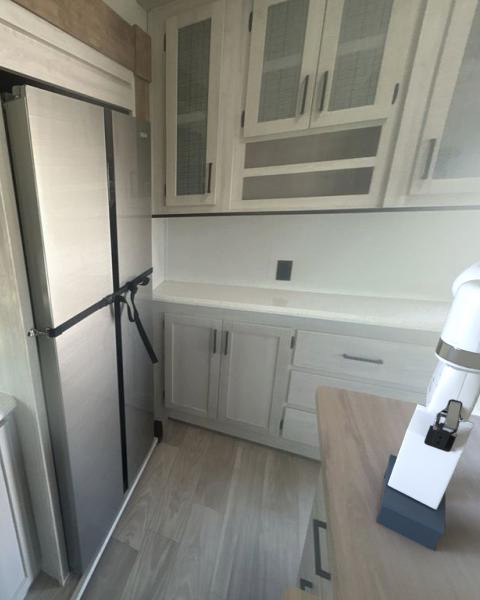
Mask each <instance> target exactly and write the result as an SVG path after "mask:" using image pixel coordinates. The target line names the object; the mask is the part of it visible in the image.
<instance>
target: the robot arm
mask: <svg viewBox="0 0 480 600" xmlns="http://www.w3.org/2000/svg"><path fill="white" fill-rule="evenodd" d="M451 293H452V297H453V299H452V303H451V306H450V308H449V311H448V314H447V317H446V319H445V321H444V322H445V323H444V325H443V328H442V330H441V333H440V336H439V338H438V341H437V344H436V346H435V347H436V348H435V351H434V356H435V357H436V358H437V359H438V362H437V363H436V366H435V369H434V371H433V374H432V376H431V379H430V381H429V383H428V385H427V389H426V395H425V396H426V397H425V406H426V410H427V411H428V412H429V413H433V414H436V416H435V420H434V423H433V426H431V425H430V427H429V430H428V433H427V435H426V438H425V440H424V443H425V444H426V445H429V446H431V447H434V448H437V449H440V450H443V451H446V452H450V450H451V448H452V446H453V443H454V441H455V439H456V437H457V431H458V427H459V424H460V422H461V423H463V422H467V421H469V419H470V417H471V415H472V413H473V411H474V409H475V407H476V405H477V402H478V400H479V397H480V260H478V261H476V262H474V263H473V264H471V265H469V266H468V267H466V268H465V269H464V270H462V271H461V272H460V273H459V274H458V275H457V276H456V278H455V279H454V280H453V283H452V285H451ZM441 412H443V413H446V414H443V413H441ZM441 417H444V418H445V421H444V423H440V424H439V422H440V418H441Z"/></svg>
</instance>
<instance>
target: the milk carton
mask: <svg viewBox="0 0 480 600" xmlns="http://www.w3.org/2000/svg"><path fill="white" fill-rule="evenodd" d="M441 413H443V412H441ZM443 414H446V413H443ZM435 416H436V414H433V413H429V412H428V411H427V410H426V405H424V404H423V405H422V404H420V403H417V405H416V407H415V410H414V412H413V415H412V417H411V419H410V422H409V424H408V427H407V428H406V431H405V434H404V437H403V440H402V443H401V445H400V449H399V452H398V453H397V460H396V462H395V465H394V468H393V471H392V474H391V477H390V479H389V482H388V485H389V486H390V487H392V488H394V489H396V490H398V491H400V492H402V493H404V494H406V495H408V496H410V497H412V498H414V499H416V500H418V501H420V502H422V503H424V504H426V505H428V506H430V507H432V508H434V509H437V508H438V506H439V504H440V501H441V499H442V497H443V495H444V493H445V494H446V491H447V488H448V486H449V484H450V481H451V479H452V477H453V475H454V473H455V470H456V469H457V466H458V464H459V461H460V459H461V457H462V455H463V453H464V451H465V448H466V446H467V442H468V440H469V438H470V435H471V431H472V429H473V428H474V425H475V423H474V422H473V421H469V420H468V421H467V422H463V423H461V422H460V424H459V427H458V431H457V437H456V439H455V441H454V443H453V446H452V448H451V450H450V452H446V451H443V450H440V449H437V448H434V447H431V446H429V445H426V444H425V443H424V440H425V438H426V435H427V433H428V430H429V427H430V425H431V426H433V423H434V420H435ZM444 421H445V418H444V417H441V418H440V422H439V424H440V423H444Z"/></svg>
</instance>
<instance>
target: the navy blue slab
mask: <svg viewBox="0 0 480 600" xmlns="http://www.w3.org/2000/svg"><path fill="white" fill-rule="evenodd" d="M397 457H398V455H397V456H396V455H394V454H391V453H390V455H389V457H388V462H387V466H386V469H385V473H384V477H383V478H384V484H383V489H382V496H381V501H380V507H379V510H378V512H377V515H376V523H377V524H380V525H382V526H384V527H386V528H388V529H389V530H392V531H394V532H396V533H397V534H400V535H402V536H404V537H406V538H407V539H410V540H411V541H414V542H416V543H418V544H420V545H422V546H424V547H425V548H428V549H430V550H432V551H434V550H435V548H436V546H437V544H438V543H439V540H440V538H441V536H442V535H444V534H445V532H446V492H445V493H444V495H443V497H442V499H441V501H440V504H439V506H438V508H437V509H434V508H432V507H430V506H428V505H426V504H424V503H422V502H420V501H418V500H416V499H414V498H412V497H410V496H408V495H406V494H404V493H402V492H400V491H398V490H396V489H394V488H392V487H390V486H389V485H388V482H389V479H390V477H391V474H392V471H393V468H394V465H395V462H396V460H397Z"/></svg>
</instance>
